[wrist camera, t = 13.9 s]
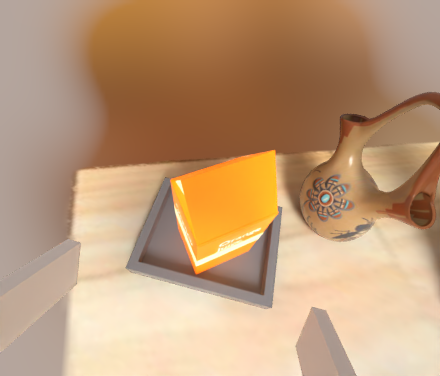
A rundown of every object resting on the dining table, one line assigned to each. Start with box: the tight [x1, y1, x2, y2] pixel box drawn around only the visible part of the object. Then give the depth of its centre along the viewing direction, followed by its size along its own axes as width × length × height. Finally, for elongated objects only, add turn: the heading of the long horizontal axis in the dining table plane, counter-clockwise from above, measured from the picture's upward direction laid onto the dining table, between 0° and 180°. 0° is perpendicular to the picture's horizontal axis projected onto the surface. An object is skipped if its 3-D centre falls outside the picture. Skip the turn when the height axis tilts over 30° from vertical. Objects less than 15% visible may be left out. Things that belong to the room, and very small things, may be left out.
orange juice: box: [170, 150, 279, 274], centre depth 27 cm, size 8×9×20 cm
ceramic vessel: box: [300, 92, 440, 242], centre depth 30 cm, size 16×9×25 cm, turn 14°
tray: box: [126, 177, 282, 309], centre depth 35 cm, size 20×15×3 cm
